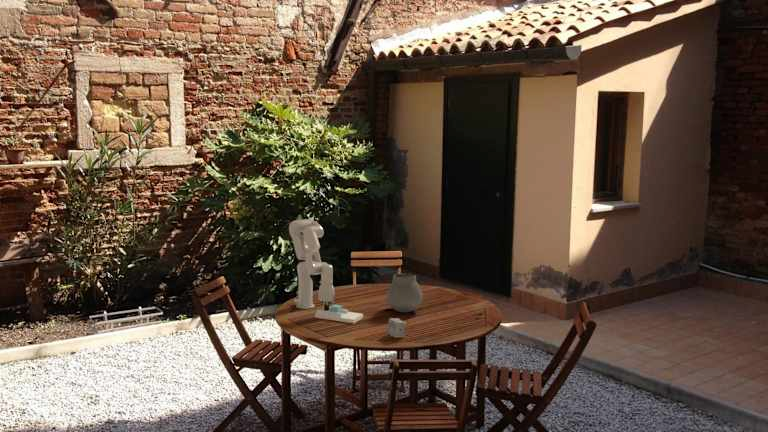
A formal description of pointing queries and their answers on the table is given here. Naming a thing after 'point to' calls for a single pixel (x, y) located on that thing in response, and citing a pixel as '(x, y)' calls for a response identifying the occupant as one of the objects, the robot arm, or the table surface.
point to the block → (336, 308)
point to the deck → (339, 315)
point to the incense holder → (396, 328)
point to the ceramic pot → (404, 293)
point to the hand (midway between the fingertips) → (326, 310)
